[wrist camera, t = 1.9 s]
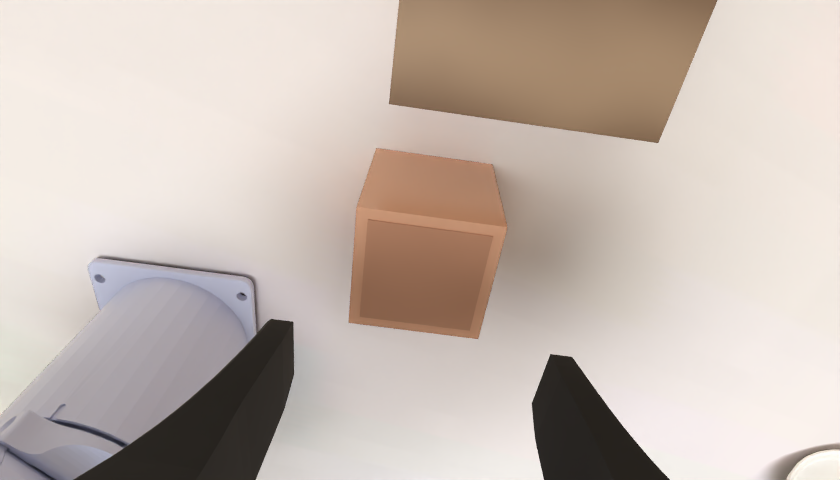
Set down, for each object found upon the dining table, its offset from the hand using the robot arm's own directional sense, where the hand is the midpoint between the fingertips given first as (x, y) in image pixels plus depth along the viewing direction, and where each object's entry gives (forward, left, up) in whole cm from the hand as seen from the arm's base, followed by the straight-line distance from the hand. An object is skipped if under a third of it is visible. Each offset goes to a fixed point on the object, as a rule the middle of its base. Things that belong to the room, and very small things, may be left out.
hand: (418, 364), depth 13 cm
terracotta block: (0, 0, -10) cm, 10 cm away
